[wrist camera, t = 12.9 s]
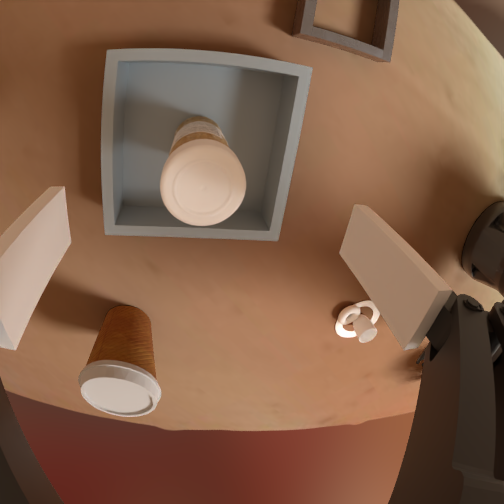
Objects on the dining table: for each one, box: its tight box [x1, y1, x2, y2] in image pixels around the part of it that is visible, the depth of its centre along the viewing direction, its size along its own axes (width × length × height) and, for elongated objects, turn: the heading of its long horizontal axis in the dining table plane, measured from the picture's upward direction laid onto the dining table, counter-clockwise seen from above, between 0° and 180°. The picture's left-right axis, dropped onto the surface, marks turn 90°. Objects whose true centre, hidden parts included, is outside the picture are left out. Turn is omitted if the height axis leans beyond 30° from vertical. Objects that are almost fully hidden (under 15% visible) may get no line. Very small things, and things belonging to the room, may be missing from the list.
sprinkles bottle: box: [160, 116, 246, 226], centre depth 21 cm, size 5×5×14 cm
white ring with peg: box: [335, 300, 380, 343], centre depth 44 cm, size 9×8×4 cm
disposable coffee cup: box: [78, 305, 161, 417], centre depth 33 cm, size 10×10×12 cm
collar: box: [292, 0, 399, 62], centre depth 21 cm, size 10×10×2 cm
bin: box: [101, 48, 313, 241], centre depth 25 cm, size 16×16×5 cm
